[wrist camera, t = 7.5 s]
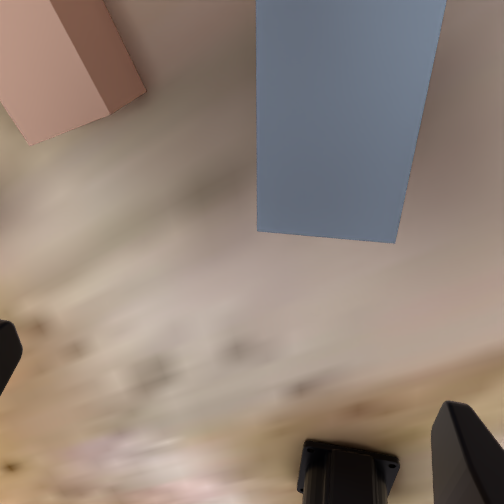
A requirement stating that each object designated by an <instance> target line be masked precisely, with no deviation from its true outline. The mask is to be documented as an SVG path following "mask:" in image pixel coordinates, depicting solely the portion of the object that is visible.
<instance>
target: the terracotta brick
mask: <svg viewBox="0 0 504 504" xmlns="http://www.w3.org/2000/svg"><path fill="white" fill-rule="evenodd" d="M145 92H147V91H146V89H145V87H144V85H143V83H142V81H141V79H140V77H139V75H138V73H137V70H136V68H135V66H134V64H133V62H132V60H131V58H130V56H129V54H128V52H127V50H126V48H125V46H124V43H123V41H122V39H121V37H120V35H119V33H118V31H117V29H116V27H115V25H114V23H113V21H112V18H111V16H110V14H109V12H108V10H107V8H106V6H105V4H104V2H103V0H0V101H1V103H2V104H3V106H4V108H5V109H6V111H7V112H8V114H9V115H10V117H11V118H12V120H13V121H14V123H15V124H16V126H17V128H18V129H19V131H20V132H21V134H22V135H23V137H24V138H25V140H26V141H27V143H28V144H29V146H32V145H34V144H37V143H39V142H42V141H45V140H47V139H50V138H52V137H55V136H57V135H60V134H63V133H65V132H68V131H70V130H73V129H75V128H78V127H80V126H83V125H86V124H88V123H91V122H93V121H96V120H98V119H101V118H103V117H106V116H109V115H111V114H113V113H114V112H116V111H117V110H119V109H120V108H122V107H123V106H125V105H126V104H128V103H130V102H131V101H133V100H134V99H136V98H137V97H139V96H140V95H142V94H144V93H145Z"/></svg>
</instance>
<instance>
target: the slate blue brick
mask: <svg viewBox="0 0 504 504" xmlns="http://www.w3.org/2000/svg"><path fill="white" fill-rule="evenodd" d="M446 2H447V0H256V111H257V231H259V232H271V233H282V234H293V235H304V236H316V237H327V238H338V239H349V240H361V241H372V242H383V243H394V244H395V241H396V237H397V232H398V227H399V223H400V218H401V213H402V208H403V204H404V199H405V194H406V190H407V185H408V180H409V176H410V171H411V166H412V161H413V157H414V152H415V147H416V143H417V138H418V133H419V129H420V124H421V119H422V114H423V110H424V105H425V100H426V96H427V91H428V86H429V82H430V77H431V72H432V67H433V63H434V58H435V53H436V49H437V44H438V39H439V35H440V30H441V25H442V20H443V16H444V11H445V6H446Z"/></svg>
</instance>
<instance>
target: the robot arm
mask: <svg viewBox="0 0 504 504" xmlns="http://www.w3.org/2000/svg"><path fill="white" fill-rule="evenodd" d="M22 351H23V348H22V344H21V342H20V339H19V336H18V334H17V331H16V328H15V326H14V324H13V323H12V322H10V321H6V320H1V319H0V396H1V394H2V392H3V390H4V388H5V386H6V385H7V383H8V381H9V379H10V377H11V375H12V374H13V372H14V370H15V368H16V366H17V364H18V362H19V361H20V359H21V356H22ZM431 449H432V471H433V492H434V504H504V449H503V448H502V447H501V446H500V444H499V443H498V442H497V440H496V439H495V438H494V436H493V435H492V434H491V432H490V431H489V430H488V429H487V427H486V426H485V425H484V423H483V422H482V421H481V419H480V418H479V417H478V415H477V414H476V413H475V412H474V410H473V409H472V408H471V407H470V406H469V405H467V404H465V403H460V402H454V401H445V402H444V403H443V404H442V406H441V408H440V411H439V413H438V415H437V417H436V419H435V421H434V424H433V426H432V430H431ZM399 468H400V463H399V459H398V458H396V457H393V456H388V455H383V454H377V453H372V452H367V451H361V450H356V449H351V448H345V447H340V446H335V445H329V444H324V443H319V442H313V441H306V442H304V445H303V452H302V458H301V464H300V471H299V477H298V483H297V491H298V492H300V493H303V503H302V504H388V501H387V498H388V495H389V493H390V490H391V488H392V485H393V483H394V480H395V478H396V476H397V473H398V471H399Z"/></svg>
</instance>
